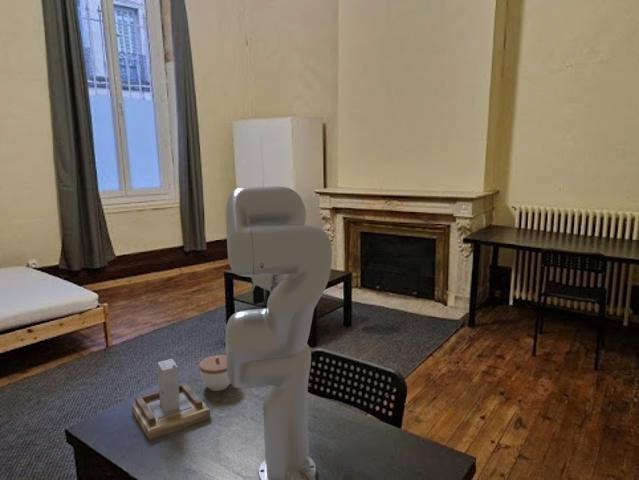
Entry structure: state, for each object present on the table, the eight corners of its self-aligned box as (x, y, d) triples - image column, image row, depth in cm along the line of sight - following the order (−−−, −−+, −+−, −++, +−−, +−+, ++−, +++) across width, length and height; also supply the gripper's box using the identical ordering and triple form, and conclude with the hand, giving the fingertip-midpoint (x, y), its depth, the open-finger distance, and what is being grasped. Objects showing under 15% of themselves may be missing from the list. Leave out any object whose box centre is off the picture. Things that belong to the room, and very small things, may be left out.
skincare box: (159, 402, 125) (155, 361, 123) (175, 398, 128) (172, 357, 125) (164, 413, 120) (160, 370, 118) (181, 408, 122) (178, 366, 120)
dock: (210, 418, 123) (209, 404, 122) (149, 440, 113) (148, 425, 113) (188, 393, 135) (188, 381, 135) (132, 411, 126) (131, 398, 125)
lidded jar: (218, 398, 132) (216, 368, 131) (193, 388, 138) (191, 359, 136) (243, 382, 141) (242, 354, 140) (218, 374, 147) (217, 347, 145)
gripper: (294, 249, 117) (296, 313, 120) (261, 239, 131) (263, 297, 134) (269, 253, 112) (271, 319, 116) (237, 243, 126) (240, 302, 129)
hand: (267, 307), depth 125 cm, fingers open, 9 cm apart
